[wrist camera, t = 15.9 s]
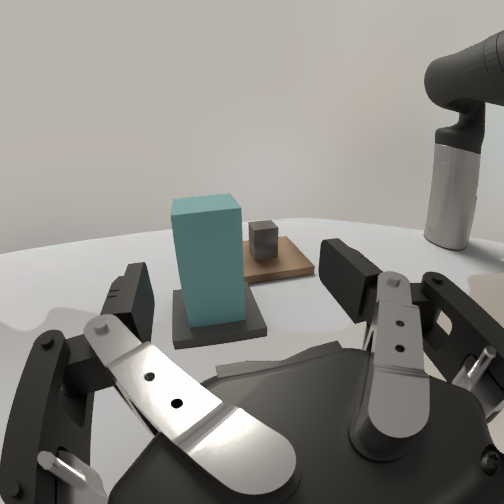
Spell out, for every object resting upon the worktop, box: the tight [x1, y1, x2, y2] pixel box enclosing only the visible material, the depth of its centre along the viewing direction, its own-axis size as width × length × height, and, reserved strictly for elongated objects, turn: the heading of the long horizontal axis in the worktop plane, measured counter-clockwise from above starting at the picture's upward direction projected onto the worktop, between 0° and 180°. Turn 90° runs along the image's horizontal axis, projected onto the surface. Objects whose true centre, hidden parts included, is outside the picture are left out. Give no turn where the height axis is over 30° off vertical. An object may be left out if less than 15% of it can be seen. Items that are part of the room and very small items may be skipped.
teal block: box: [171, 194, 246, 328], centre depth 23 cm, size 5×5×10 cm
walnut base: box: [242, 220, 315, 284], centre depth 35 cm, size 10×10×5 cm
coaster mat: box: [172, 281, 267, 350], centre depth 25 cm, size 8×8×1 cm
